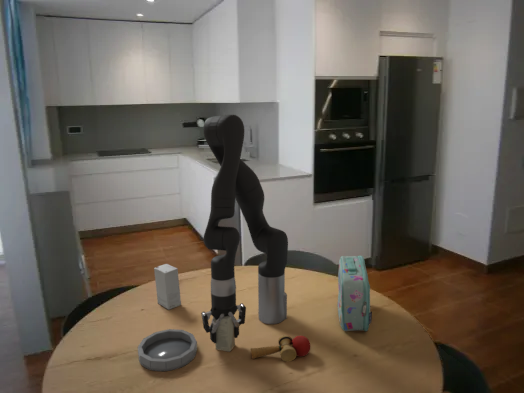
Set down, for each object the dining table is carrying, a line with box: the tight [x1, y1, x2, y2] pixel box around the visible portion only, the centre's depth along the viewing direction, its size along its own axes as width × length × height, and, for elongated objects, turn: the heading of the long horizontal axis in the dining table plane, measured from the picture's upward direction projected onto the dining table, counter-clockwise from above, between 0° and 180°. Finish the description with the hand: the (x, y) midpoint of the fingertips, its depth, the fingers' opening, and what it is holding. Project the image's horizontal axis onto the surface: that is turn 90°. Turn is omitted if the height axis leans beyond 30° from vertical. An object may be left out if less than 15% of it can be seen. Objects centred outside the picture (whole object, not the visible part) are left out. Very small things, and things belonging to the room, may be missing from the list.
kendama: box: [250, 334, 311, 362], centre depth 124 cm, size 8×6×18 cm
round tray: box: [137, 328, 198, 372], centre depth 126 cm, size 17×17×3 cm
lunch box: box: [336, 255, 373, 332], centre depth 144 cm, size 27×10×21 cm, turn 173°
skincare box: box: [153, 263, 182, 311], centre depth 156 cm, size 8×6×15 cm
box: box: [214, 316, 236, 352], centre depth 128 cm, size 5×4×11 cm
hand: (224, 339), depth 129 cm, fingers closed on box, 6 cm apart
